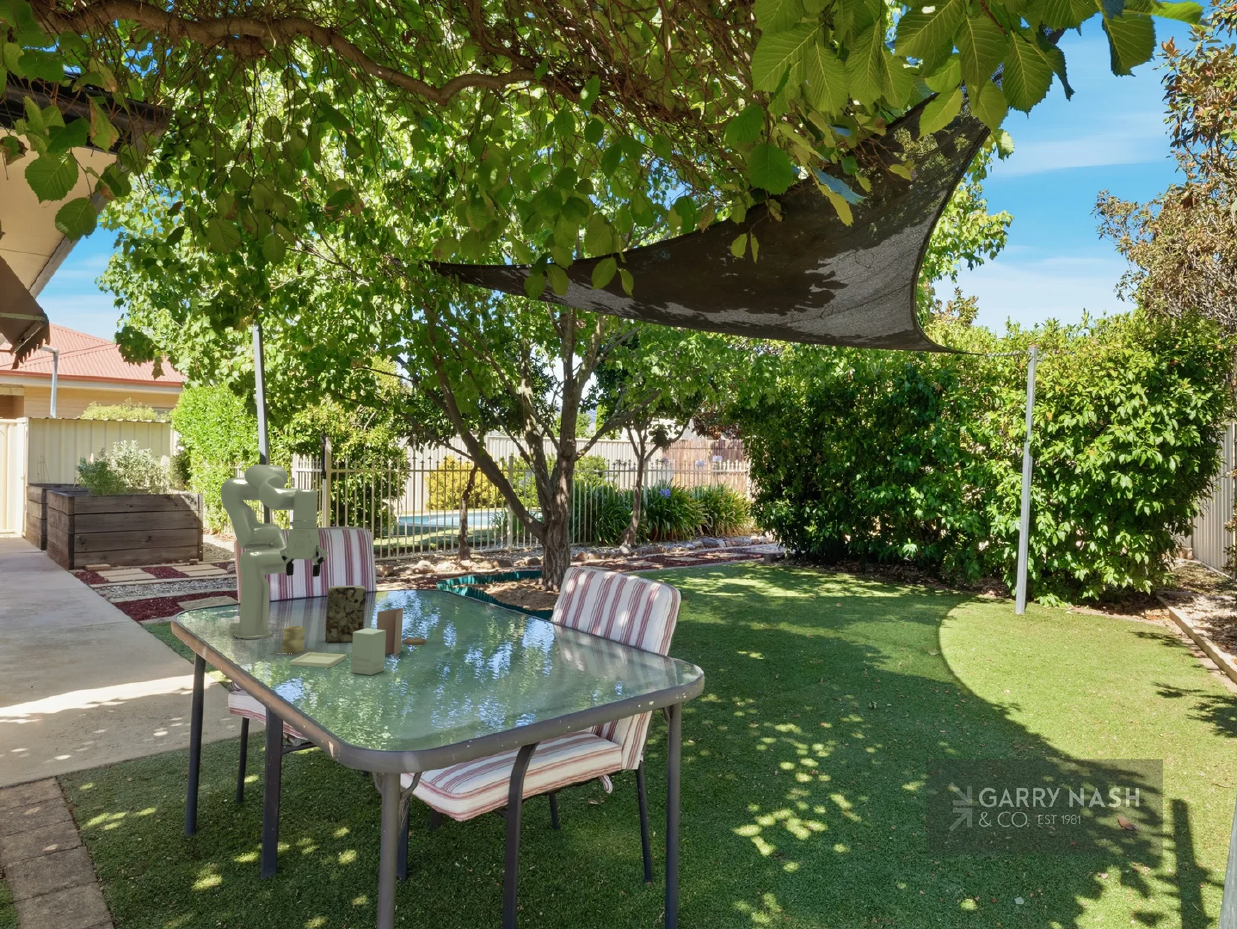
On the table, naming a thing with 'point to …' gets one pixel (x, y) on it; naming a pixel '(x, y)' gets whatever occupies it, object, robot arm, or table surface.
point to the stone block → (344, 612)
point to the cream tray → (318, 660)
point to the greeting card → (391, 629)
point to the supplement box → (368, 651)
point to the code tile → (292, 653)
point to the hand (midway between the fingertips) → (302, 575)
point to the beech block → (293, 639)
